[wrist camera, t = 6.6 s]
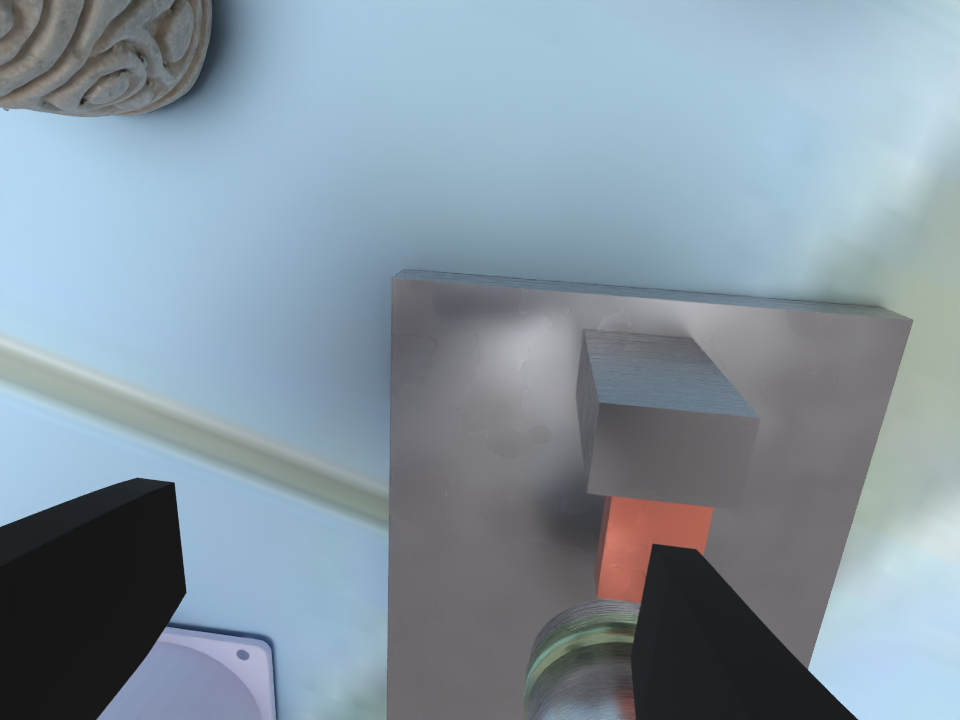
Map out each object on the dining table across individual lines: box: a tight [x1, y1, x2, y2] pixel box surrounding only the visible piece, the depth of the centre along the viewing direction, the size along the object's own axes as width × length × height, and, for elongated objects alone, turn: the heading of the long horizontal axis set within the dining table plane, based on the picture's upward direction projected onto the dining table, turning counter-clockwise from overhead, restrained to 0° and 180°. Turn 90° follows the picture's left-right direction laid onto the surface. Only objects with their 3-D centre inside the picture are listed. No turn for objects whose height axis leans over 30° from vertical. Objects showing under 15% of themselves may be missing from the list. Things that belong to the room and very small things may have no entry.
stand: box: [387, 269, 913, 720], centre depth 17 cm, size 14×18×7 cm
